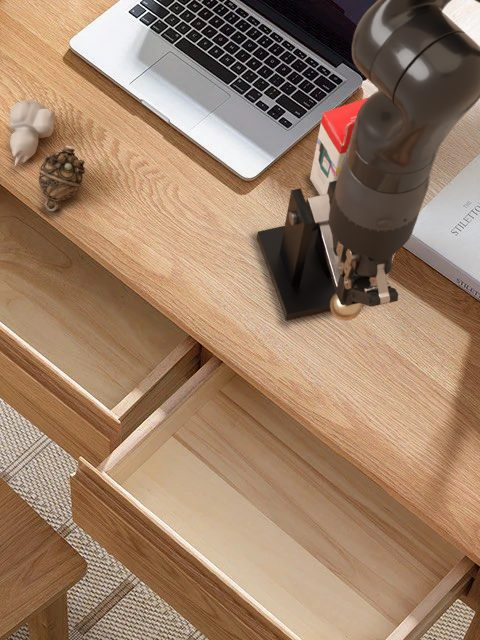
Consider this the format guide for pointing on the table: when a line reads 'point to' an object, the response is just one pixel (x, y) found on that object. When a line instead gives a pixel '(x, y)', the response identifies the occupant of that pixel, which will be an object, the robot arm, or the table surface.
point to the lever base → (298, 261)
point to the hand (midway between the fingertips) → (347, 297)
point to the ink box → (333, 144)
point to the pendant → (60, 175)
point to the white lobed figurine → (29, 127)
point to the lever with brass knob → (330, 254)
